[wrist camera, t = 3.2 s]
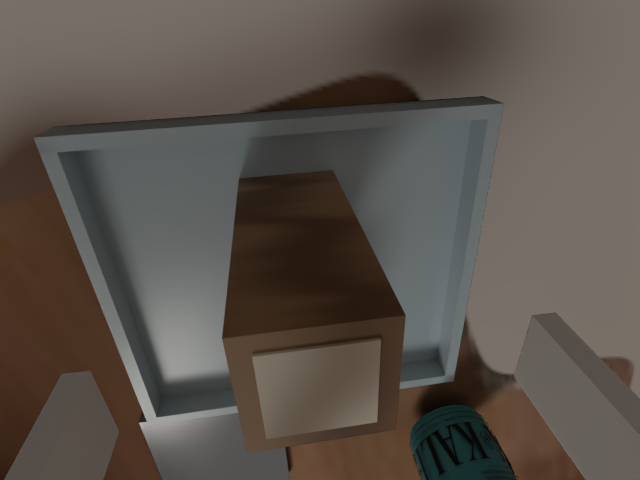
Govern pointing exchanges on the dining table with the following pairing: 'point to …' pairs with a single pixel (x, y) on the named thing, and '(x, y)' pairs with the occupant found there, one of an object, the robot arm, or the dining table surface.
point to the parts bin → (219, 213)
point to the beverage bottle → (457, 447)
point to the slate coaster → (210, 451)
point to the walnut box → (308, 316)
